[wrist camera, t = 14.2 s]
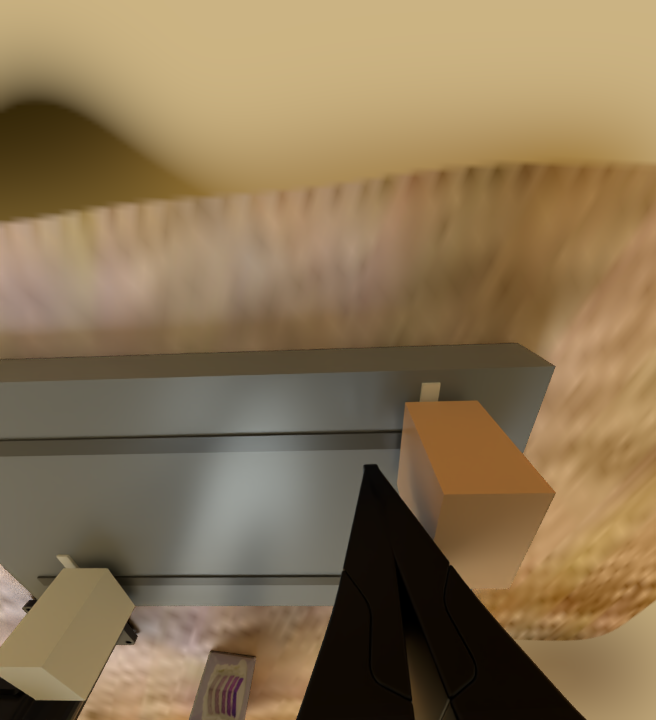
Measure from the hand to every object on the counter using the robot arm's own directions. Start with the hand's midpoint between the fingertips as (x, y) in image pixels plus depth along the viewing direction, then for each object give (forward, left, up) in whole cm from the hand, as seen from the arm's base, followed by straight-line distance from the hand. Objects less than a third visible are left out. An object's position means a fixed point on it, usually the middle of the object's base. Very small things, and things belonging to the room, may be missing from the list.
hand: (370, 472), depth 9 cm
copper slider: (0, -2, -1) cm, 3 cm away
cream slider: (-10, +14, -1) cm, 18 cm away
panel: (-5, +7, -4) cm, 9 cm away
